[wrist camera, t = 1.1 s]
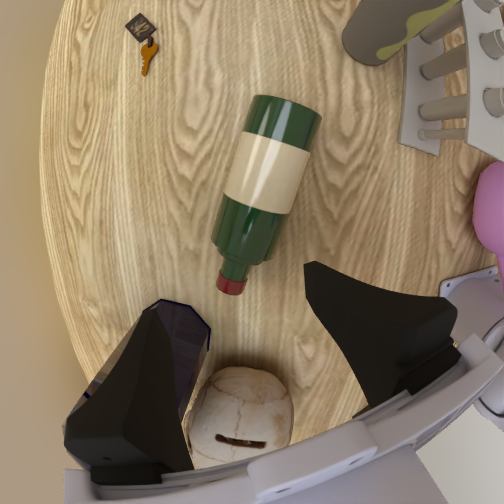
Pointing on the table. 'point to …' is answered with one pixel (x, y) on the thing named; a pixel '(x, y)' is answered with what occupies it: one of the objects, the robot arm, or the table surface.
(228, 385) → the skull
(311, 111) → the wine bottle
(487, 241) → the teapot
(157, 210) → the table surface
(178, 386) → the bottle
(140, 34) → the key tag
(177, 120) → the table surface
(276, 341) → the table surface
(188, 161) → the table surface
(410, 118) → the test tube rack
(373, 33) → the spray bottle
